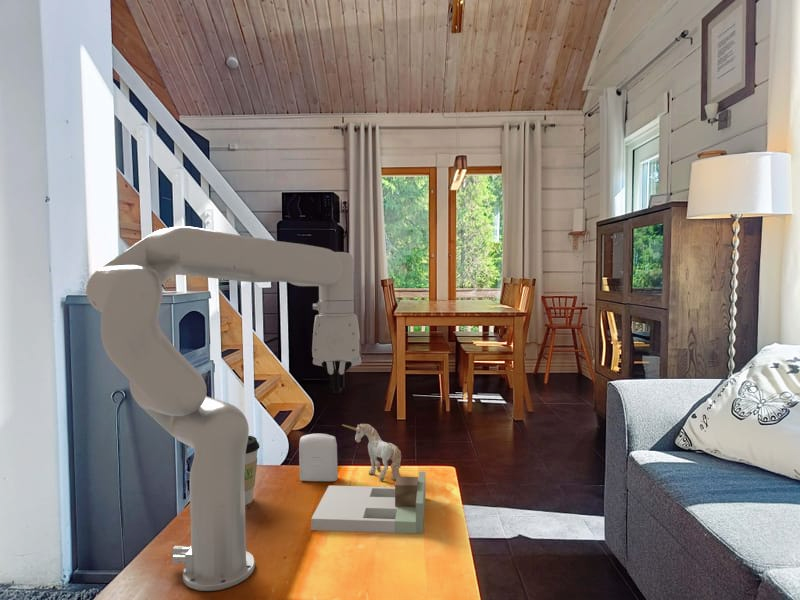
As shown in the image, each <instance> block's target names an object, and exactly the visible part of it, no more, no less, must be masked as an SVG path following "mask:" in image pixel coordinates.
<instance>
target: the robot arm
mask: <svg viewBox="0 0 800 600" xmlns="http://www.w3.org/2000/svg"><path fill="white" fill-rule="evenodd" d="M172 276H190V277H198V278H199V277H200V278H210V279H216V280H217V279H219V280H228V281H236V282H243V283H244V282H245V283H246V282H248V283H272V282H273V283H275V282H276V283H277V282H279V283H281V282H282V283H283V282H284V283H289V284H291V285H294V286H297V287H318V301H317V302H316V303H314V302H313V303H312V310H316V311H318V314H316V315H315V316H314V323H313V330H312V331H313V333H312V344H311V345H312V346H311V353H312V355H311V356H312V358H313V359H312V364H313V365H315V366H319V367H322V368H324V369H325V371H326V372H327V374H329V388H330V389H332V393H339V394H340V393H341V392H342V391H343V389H344V388H345V386H346V384H345V382H346V381H345V379H346V378H345V377H346V375H345V374H346V372H347V371H348V370H349V369H350V368H352V367H355V366H360V365H361V364H362V358H361V335H360V326H359V325H360V324H359V321H358V320H359V319H358V316H357V314H355V313H354V312H355V310H354V309H355V308H354V307H355V305H354V302H355V301H354V297H355V296H354V292H355V291H354V257H353V255H352V253H349V252H347V251H346V252H345V251H333V250H332V249H330V248H326V247H321V246H317V245H316V246H315V245H310V244H304V243H295V242H289V241H288V242H287V241H280V240H273V239H267V238H261V237H252V236H247V235H246V236H245V235H239V234H232V233H228V232H223V231H216V230H212V229H211V230H210V229H208V228H207V229H206V228H201V227H194V226H184V225H181V226H172V227H169V228H168V227H167V228H162V229H158V230H156V231H154V232H151V234H148V235H147V236H146V237H144V238H143V239H141V240H139V241H138V242H136V243H134V244H133V245H132V246H131V247H129V248H128V249H126V250H125V251H123V252H122V253H120V254H118V255H117V256H116V257H114V258H113V259H111V260H109V261H107V263H105V264H103V265H101V266H100V267H99V268H97V270H95V271H94V272H93V274H91V276H90V277H89V279H88V281H87V284H86V288H85V289H86V290H85V291H86V297H87V300H88V302H89V303H90V306H92V308H94V309H95V310H96V311H98V312H100V313H101V316H100V337H101V342H102V346H103V349H104V352H106V355H107V357H108V358H109V360H111V362H112V363H113V364H114V365H115V367H117V369H118V370H119V371H120V372H122V374H123V375H125V377H126V378H127V379H128V380H129V391H130V394H131V396H132V398H133V399H134V401H135V402H136V403H137V405H139V407H140V408H141V409H143V410H144V412H146V414H148V415H149V417H151V418H152V419H153V420H155V422H157V424H158V425H160V426H161V428H163V429H164V430H165V431H166V432H167V433H169V434H170V436H172V437H173V438H174V439H176V440H177V441H178V442H180V443H182V444H184V445H186V446H188V447H190V448H192V449H193V452H194V455H193V460H192V464H191V467H190V473H189V507H190V510H189V511H190V514H189V515H190V546H185V545H174V546H173V548H172V550H171V557H172V558H171V562H172V563H173V564H181V563H182V564H184V565H185V566H184V568H183V569H182V582H183V583H184V585H185V586H186V587H188V588H189V589H193V590H196V591H201V592H202V591H204V592H213V591H214V592H215V591H221V590H224V589H229V588H230V587H233V586H236V585H238V584H240V583H242V582H243V581H246V579H248V578H249V576H251V575H252V574H253V572H254V570H255V567H256V561H255V557H254V555H253V554H252V553H251V552H249V551H247V541H246V540H247V537H246V536H247V535H246V532H247V530H246V506H245V474H244V470H245V454H246V447H247V442H248V436H249V424H248V419H247V418H246V415H245V414H244V413H243V412H242V411H241V409H239V408H238V407H237V406H235V405H234V404H231V403H229V402H226V401H222V400H219V399H217V398H213V397H210V396H207V393H208V391H207V389H208V388H207V383H206V382H205V378H204V377H203V375H202V374H201V372H199V370H198V369H197V368H196V367H195V366H194V365H193V364H192V363H190V362H189V361H188V360H187V359H186V357H185V356H183V354H182V353H181V352H180V351H179V350H178V349H177V348H176V347H175V346H174V345H173V344H172V343H171V341H170V340H169V339H168V337H167V336H166V335H165V334H164V333H163V331H162V329H161V326H160V324H159V312H160V307H161V304H162V299H163V294H164V293H163V286H162V284H164V283H165V282H166V281H167V280H169V279H170V278H171V277H172ZM336 362H339V368H338V370H337V369H336Z"/></svg>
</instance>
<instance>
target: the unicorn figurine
mask: <svg viewBox="0 0 800 600" xmlns="http://www.w3.org/2000/svg"><path fill="white" fill-rule="evenodd" d="M342 426H343V427H345V428H348V429H350V430H353V431H355V433H356V434H355V437H354V438H355V439H354V440H355V442H357V443H360V442H361V441H362V440H361V439H362V438H363V437H364V436H366V437H367V438H368V444H367V451H368V456H369V458H370V464H371V465H370V466H371V468H370V470H369V471H368V475H372V474H373V475H374V476H375V475H376V470H377V471H378V472H380V473H379V481H380V482H382V481H384V480H385V476H386V473H387V472H386V471H387V470H388V469H389V466H388V465H389V463H388V462H389V460H391V461H392V463H391V465H390V469H391V472H390V473H391V476H392V477H391V480H392V481H396V478H397V477H401V473H400V469H401V461H402V452H401V450H400V449H399V447H398V446H397V445H395V444H393V443H391V442H386V441H384V440H382V438H381V436H380V435H379V433H378V431H377V429H376V428H374V427H373V426H372V425H371V424H369V423H360V424H357V427H354V426H350V425H346V424H342ZM378 458H381V459H382V464H383V469H381V468H382V466H381V461H379V460H378Z"/></svg>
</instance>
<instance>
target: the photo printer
mask: <svg viewBox="0 0 800 600" xmlns="http://www.w3.org/2000/svg"><path fill="white" fill-rule="evenodd" d="M298 443H299V444H298V447H299V448H298V450H299V451H298V453H299V455H298V456H299V480H300V481H303V482H336V481H337V480H338V478H339V475H338V444H337V439H336V436H334V435H330V434H328V433H310V434H305V435H302V436H301V437H300V438H299V442H298Z"/></svg>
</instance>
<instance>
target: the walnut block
mask: <svg viewBox="0 0 800 600" xmlns="http://www.w3.org/2000/svg"><path fill="white" fill-rule="evenodd" d="M418 479H419V476H400V477H397V478H396V479H395V482H394V487H395V507H416V497H417V488H418Z"/></svg>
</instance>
